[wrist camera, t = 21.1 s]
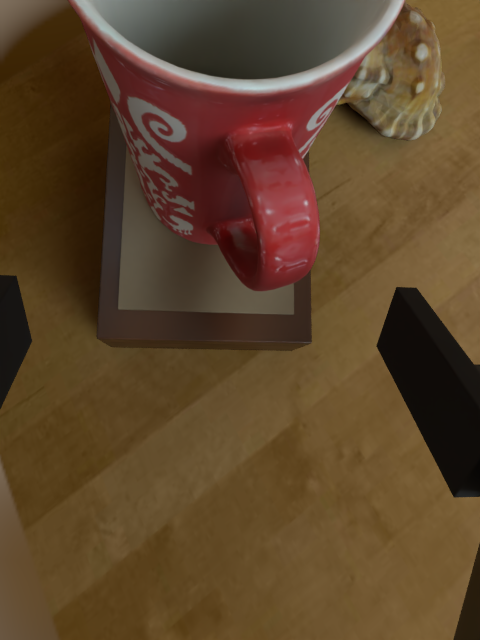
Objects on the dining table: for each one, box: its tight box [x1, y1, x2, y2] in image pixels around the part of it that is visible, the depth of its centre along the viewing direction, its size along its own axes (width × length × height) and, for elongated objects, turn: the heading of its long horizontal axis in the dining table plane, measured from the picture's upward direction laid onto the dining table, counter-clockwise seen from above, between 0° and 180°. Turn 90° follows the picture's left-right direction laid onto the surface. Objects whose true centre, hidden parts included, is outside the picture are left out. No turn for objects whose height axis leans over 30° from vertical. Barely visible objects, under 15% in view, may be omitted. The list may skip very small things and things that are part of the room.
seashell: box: [336, 1, 445, 141], centre depth 29 cm, size 9×8×10 cm
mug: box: [68, 0, 405, 291], centre depth 17 cm, size 13×9×14 cm
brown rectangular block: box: [97, 104, 312, 351], centre depth 26 cm, size 11×14×5 cm
